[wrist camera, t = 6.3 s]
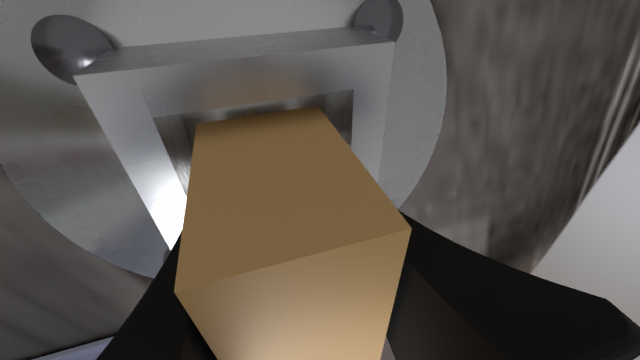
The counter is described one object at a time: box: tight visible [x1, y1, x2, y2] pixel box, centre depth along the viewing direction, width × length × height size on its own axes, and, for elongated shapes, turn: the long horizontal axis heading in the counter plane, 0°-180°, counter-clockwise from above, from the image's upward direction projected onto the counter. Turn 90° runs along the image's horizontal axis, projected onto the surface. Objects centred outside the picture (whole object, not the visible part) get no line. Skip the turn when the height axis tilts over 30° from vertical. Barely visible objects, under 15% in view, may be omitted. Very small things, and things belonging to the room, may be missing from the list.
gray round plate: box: [0, 0, 447, 278], centre depth 12 cm, size 18×18×4 cm
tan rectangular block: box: [174, 106, 412, 360], centre depth 9 cm, size 4×6×6 cm, turn 2°
